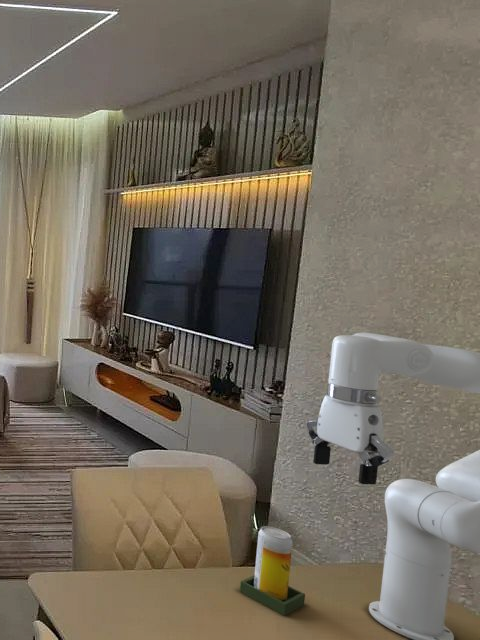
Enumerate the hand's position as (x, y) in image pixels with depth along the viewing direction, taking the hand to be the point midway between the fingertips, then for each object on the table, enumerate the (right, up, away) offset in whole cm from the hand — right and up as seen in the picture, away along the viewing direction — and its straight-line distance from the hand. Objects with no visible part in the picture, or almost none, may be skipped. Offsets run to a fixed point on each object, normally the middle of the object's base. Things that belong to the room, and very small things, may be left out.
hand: (343, 473), depth 114 cm
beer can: (-8, -32, +10) cm, 34 cm away
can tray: (-7, -33, +10) cm, 35 cm away
